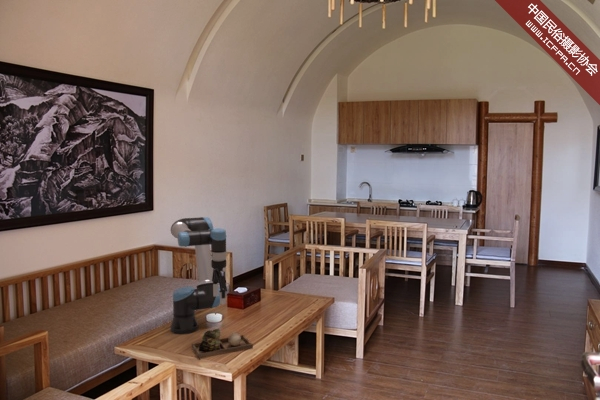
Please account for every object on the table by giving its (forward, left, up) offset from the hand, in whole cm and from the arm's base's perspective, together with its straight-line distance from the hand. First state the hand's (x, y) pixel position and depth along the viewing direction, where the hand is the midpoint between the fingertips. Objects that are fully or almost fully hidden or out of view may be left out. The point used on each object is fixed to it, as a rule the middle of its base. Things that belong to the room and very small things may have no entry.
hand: (219, 300), depth 251 cm
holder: (+6, -1, -24) cm, 25 cm away
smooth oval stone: (+6, +6, -23) cm, 24 cm away
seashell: (+6, -8, -23) cm, 25 cm away
